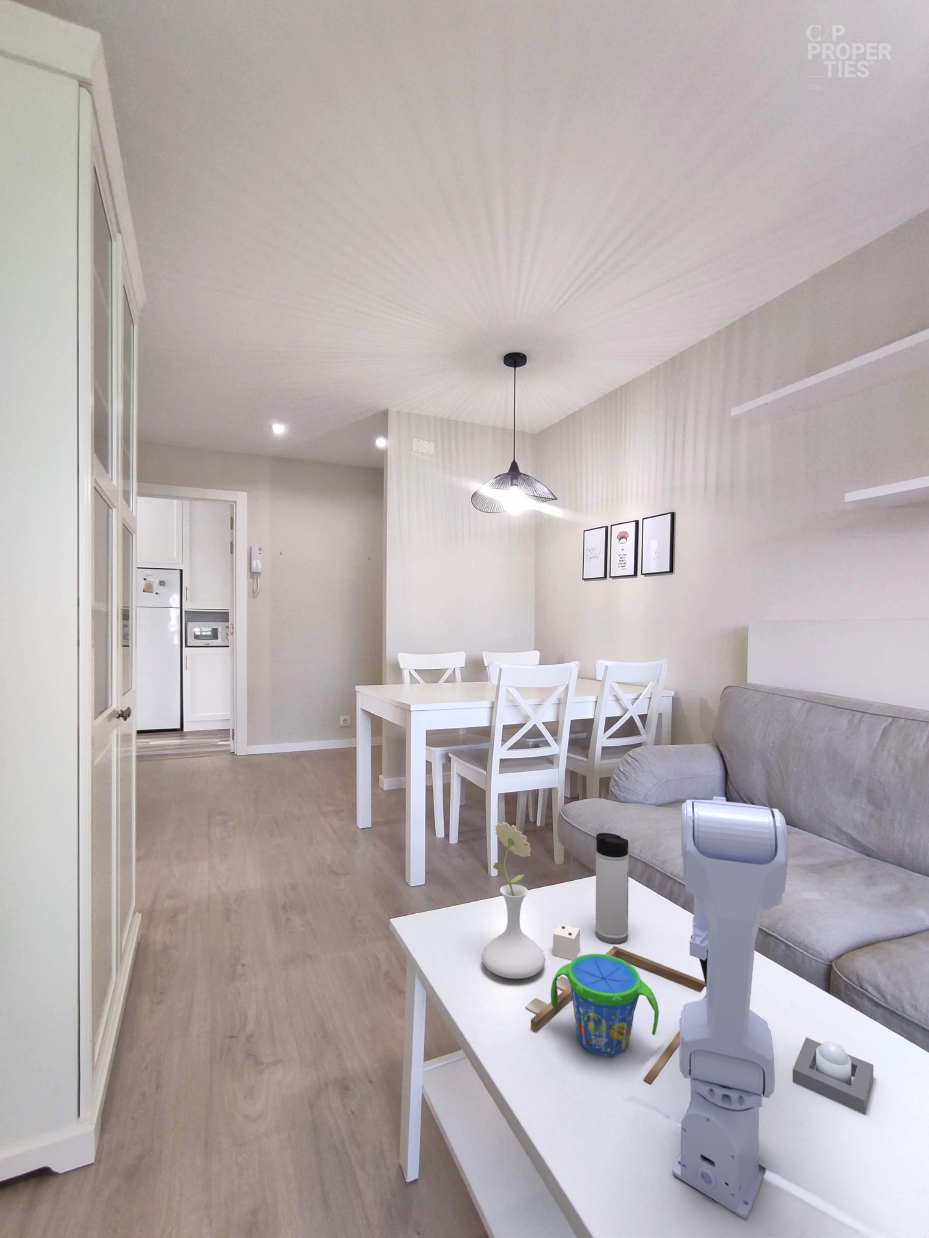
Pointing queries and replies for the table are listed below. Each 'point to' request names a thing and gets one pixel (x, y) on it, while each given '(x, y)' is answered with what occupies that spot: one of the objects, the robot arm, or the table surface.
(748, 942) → the robot arm
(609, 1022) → the snack cup
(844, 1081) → the dome
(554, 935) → the die
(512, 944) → the flower in vase
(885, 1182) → the table surface
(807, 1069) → the button box
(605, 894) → the travel mug
